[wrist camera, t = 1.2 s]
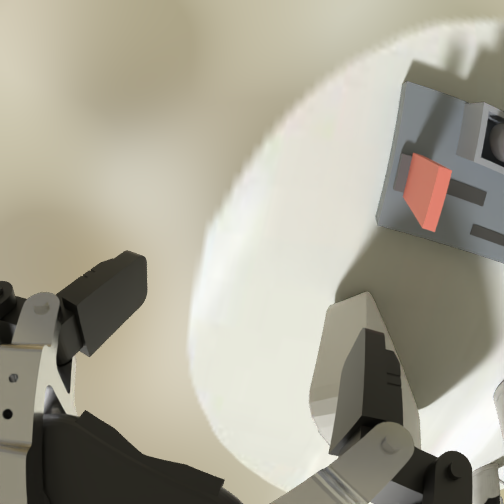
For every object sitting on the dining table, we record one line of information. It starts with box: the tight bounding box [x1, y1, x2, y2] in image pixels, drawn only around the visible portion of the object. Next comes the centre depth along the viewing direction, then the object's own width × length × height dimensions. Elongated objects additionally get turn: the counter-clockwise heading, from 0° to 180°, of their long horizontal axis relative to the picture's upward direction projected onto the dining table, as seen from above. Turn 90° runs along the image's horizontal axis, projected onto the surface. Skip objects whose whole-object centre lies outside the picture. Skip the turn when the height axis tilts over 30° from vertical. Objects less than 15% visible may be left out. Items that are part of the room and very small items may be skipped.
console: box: [376, 81, 504, 263], centre depth 23 cm, size 21×15×8 cm
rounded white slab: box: [309, 291, 421, 450], centre depth 32 cm, size 29×8×18 cm, turn 33°
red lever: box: [393, 153, 452, 232], centre depth 21 cm, size 3×4×10 cm
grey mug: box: [472, 463, 504, 504], centre depth 36 cm, size 9×14×15 cm, turn 89°
